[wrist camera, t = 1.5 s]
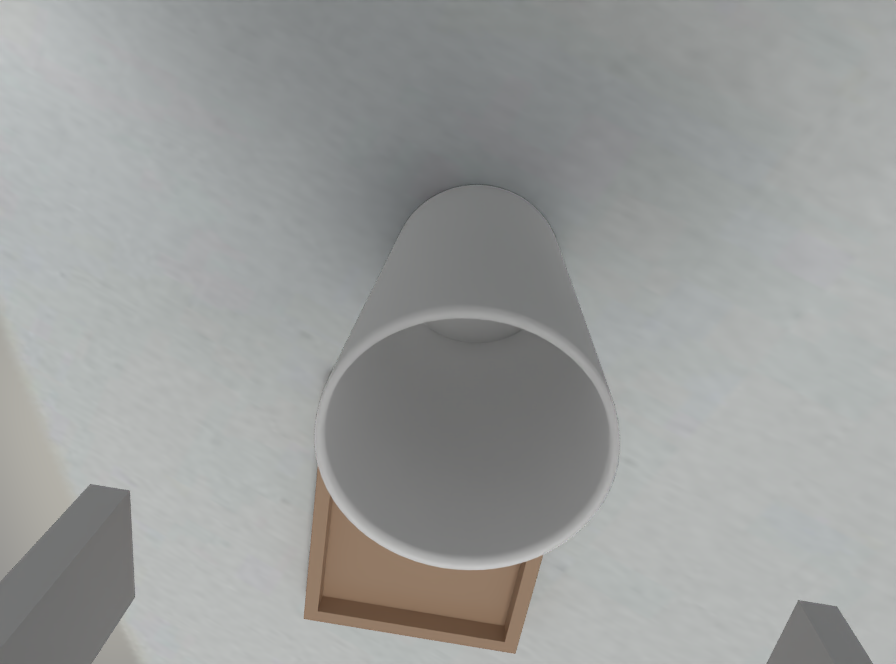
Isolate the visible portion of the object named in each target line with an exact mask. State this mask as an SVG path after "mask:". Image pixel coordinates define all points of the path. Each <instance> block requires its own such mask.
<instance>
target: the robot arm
mask: <svg viewBox="0 0 896 664" xmlns="http://www.w3.org/2000/svg"><path fill="white" fill-rule="evenodd" d="M134 598H135V584H134V564H133V544H132V524H131V504H130V491H129V490H123V489H117V488H111V487H105V486H99V485H93V484H90V485H89V486H88V487H87V488H86V489H85V491H84V492H83V493H82V494H81V495H80V496H79V497H78V498H77V499H76V500H75V501H74V502H73V504H72V505H71V506H70V507H69V508H68V509H67V510H66V511H65V512H64V513H63V514H62V515H61V517H60V518H59V519H58V520H57V521H56V522H55V523H54V524H53V525H52V526H51V527H50V528H49V530H48V531H47V532H46V533H45V534H44V535H43V536H42V537H41V538H40V539H39V540H38V541H37V542H36V544H35V545H34V546H33V547H32V548H31V549H30V550H29V551H28V552H27V553H26V554H25V556H24V557H23V558H22V559H21V560H20V561H19V562H18V563H17V564H16V565H15V566H14V567H13V568H12V570H11V571H10V572H9V573H8V574H7V575H6V576H5V577H4V578H3V579H2V580H1V582H0V664H92V662H93V661H94V659H95V658H96V656H97V655H98V653H99V652H100V650H101V648H102V647H103V645H104V644H105V642H106V641H107V639H108V638H109V636H110V634H111V633H112V632H113V630H114V629H115V627H116V625H117V624H118V622H119V621H120V619H121V618H122V616H123V615H124V613H125V612H126V610H127V609H128V607H129V605H130V604H131V602H132V601H133V599H134ZM767 664H873V663H872V661H871V660H870V658H869V656H868V655H867V653H866V652H865V650H864V649H863V647H862V645H861V644H860V642H859V641H858V639H857V637H856V636H855V634H854V633H853V631H852V630H851V628H850V626H849V625H848V623H847V622H846V620H845V618H844V617H843V615H842V614H841V612H840V611H839V609H838V607H837V606H831V605H825V604H818V603H812V602H806V601H800V600H798V602H797V604H796V606H795V608H794V610H793V612H792V614H791V616H790V618H789V620H788V622H787V624H786V626H785V628H784V630H783V632H782V634H781V636H780V638H779V640H778V642H777V644H776V646H775V648H774V650H773V652H772V654H771V656H770V658H769V660H768V662H767Z"/></svg>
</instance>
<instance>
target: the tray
mask: <svg viewBox="0 0 896 664" xmlns="http://www.w3.org/2000/svg"><path fill="white" fill-rule="evenodd" d="M542 557H543V555H541V556H539V557H537V558H534V559H532V560H529V561H526V562H523V563H519V564H516V565H512V566H507V567H502V568H496V569H487V570H455V569H447V568H440V567H435V566H430V565H426V564H423V563H419V562H416V561H413V560H410V559H408V558H405V557H402V556H400V555H398V554H396V553H394V552H392V551H390V550H388V549H386V548H384V547H383V546H381V545H379V544H378V543H376V542H375V541H373V540H372V539H370V538H369V537H367V536H366V535H365V534H364V533H363V532H361V531H360V530H359V529H358V528H357V527H356V526H355V525H354V524H352V523H351V522H350V521H349V520H348V518H347V517H346V516H345V515H344V514H343V513H342V511H341V510H340V509H339V508H338V506H337V505H336V503H335V502H334V500H333V499H332V497H331V495H330V494H329V492H328V490H327V488H326V486H325V484H324V481H323V479H322V477H321V474H320V471H319V467H318V470H317V481H316V492H315V502H314V513H313V524H312V535H311V546H310V556H309V567H308V578H307V589H306V599H305V610H304V619H308V620H314V621H320V622H326V623H332V624H338V625H345V626H351V627H357V628H363V629H369V630H375V631H381V632H387V633H393V634H399V635H405V636H411V637H417V638H423V639H429V640H435V641H441V642H447V643H454V644H460V645H466V646H472V647H478V648H484V649H490V650H496V651H502V652H508V653H514V654H515V653H516V649H517V646H518V642H519V639H520V635H521V632H522V628H523V625H524V621H525V618H526V614H527V610H528V607H529V603H530V600H531V596H532V593H533V589H534V586H535V582H536V578H537V575H538V571H539V568H540V564H541V561H542Z"/></svg>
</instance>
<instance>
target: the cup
mask: <svg viewBox="0 0 896 664" xmlns="http://www.w3.org/2000/svg"><path fill="white" fill-rule="evenodd" d="M314 444H315V454H316V459H317V464H318V467H319V471H320V474H321V477H322V479H323V481H324V484H325V486H326V488H327V490H328V492H329V494H330V495H331V497H332V499H333V500H334V502H335V503H336V505H337V506H338V508H339V509H340V510H341V511H342V513H343V514H344V515H345V516H346V517H347V518H348V520H349V521H350V522H351V523H352V524H354V525H355V526H356V527H357V528H358V529H359V530H360V531H361V532H363V533H364V534H365V535H366V536H367V537H369V538H370V539H372V540H373V541H375V542H376V543H378V544H379V545H381V546H383V547H384V548H386V549H388V550H390V551H392V552H394V553H396V554H398V555H400V556H402V557H405V558H408V559H410V560H413V561H416V562H419V563H423V564H426V565H430V566H435V567H440V568H447V569H455V570H487V569H496V568H502V567H507V566H512V565H516V564H519V563H523V562H526V561H529V560H532V559H534V558H537V557H539V556H541V555H544V554H546V553H548V552H550V551H552V550H553V549H555V548H557V547H559V546H560V545H562V544H563V543H565V542H566V541H568V540H569V539H570V538H572V537H573V536H574V535H575V534H577V533H578V532H579V531H580V530H581V529H582V528H583V527H584V526H585V525H586V524H587V523H588V522H589V521H590V520H591V519H592V518H593V516H594V515H595V514H596V513H597V511H598V510H599V508H600V507H601V505H602V504H603V502H604V501H605V499H606V497H607V495H608V493H609V491H610V489H611V486H612V484H613V481H614V479H615V475H616V471H617V467H618V462H619V454H620V435H619V425H618V418H617V413H616V409H615V405H614V402H613V399H612V396H611V393H610V390H609V388H608V385H607V382H606V379H605V376H604V373H603V370H602V367H601V364H600V362H599V359H598V356H597V353H596V350H595V347H594V345H593V342H592V339H591V336H590V333H589V330H588V328H587V325H586V322H585V319H584V316H583V313H582V311H581V308H580V305H579V302H578V299H577V296H576V294H575V291H574V288H573V285H572V282H571V280H570V277H569V274H568V271H567V268H566V265H565V263H564V260H563V257H562V254H561V251H560V248H559V246H558V243H557V240H556V237H555V235H554V233H553V230H552V228H551V227H550V225H549V223H548V222H547V220H546V219H545V218H544V216H543V215H542V214H541V213H540V212H539V211H538V210H537V209H536V208H535V207H534V206H533V205H532V204H531V203H529V202H528V201H527V200H525V199H524V198H522V197H520V196H519V195H517V194H515V193H513V192H510V191H508V190H505V189H502V188H499V187H494V186H488V185H465V186H460V187H455V188H452V189H448V190H446V191H443V192H441V193H439V194H437V195H435V196H433V197H432V198H430V199H429V200H427V201H426V202H424V203H423V204H422V205H421V206H420V207H419V208H418V209H417V210H415V211H414V213H413V214H412V215H411V216H410V217H409V219H408V220H407V222H406V223H405V225H404V226H403V228H402V230H401V232H400V234H399V236H398V238H397V240H396V242H395V244H394V246H393V248H392V250H391V252H390V254H389V256H388V258H387V260H386V262H385V264H384V266H383V268H382V271H381V273H380V275H379V277H378V279H377V281H376V283H375V285H374V287H373V289H372V291H371V293H370V295H369V297H368V299H367V301H366V303H365V305H364V307H363V309H362V311H361V313H360V315H359V317H358V319H357V321H356V323H355V325H354V327H353V329H352V331H351V333H350V335H349V337H348V339H347V341H346V343H345V345H344V347H343V350H342V352H341V354H340V356H339V358H338V360H337V362H336V364H335V366H334V368H333V370H332V372H331V374H330V376H329V378H328V380H327V382H326V385H325V387H324V390H323V392H322V395H321V399H320V403H319V406H318V410H317V414H316V421H315V429H314Z"/></svg>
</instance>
